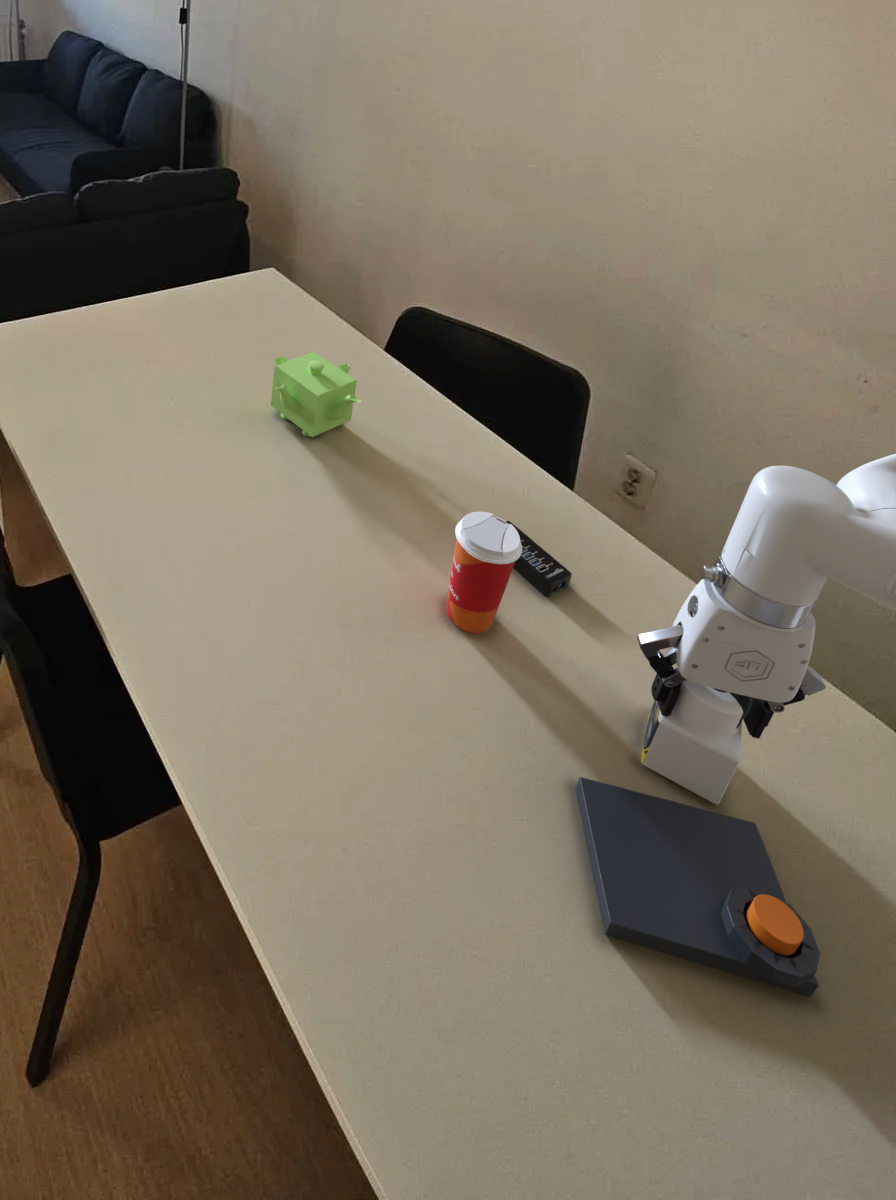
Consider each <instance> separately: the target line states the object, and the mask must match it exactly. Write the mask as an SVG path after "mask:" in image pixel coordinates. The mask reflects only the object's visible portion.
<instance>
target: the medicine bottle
mask: <svg viewBox="0 0 896 1200" xmlns="http://www.w3.org/2000/svg"><path fill="white" fill-rule="evenodd" d="M678 686H679V689H680V694H679V697H678V699H677V701H676V704H675V706H674V708H673V711H672V713H671V715H669V716H664V715H662V714H661V712H660V708H659V705H658V702H657V701H656V700H654V701H653V704H652V705H651V708H650V711H649V713H648V717H647V723H646V729H645V735H644V741H643V746H642V751H641V752H642V753H641V759H640V763H641V765H643V766H644V767H646V768H648V769H650V770H652V771H653V772H655V773H657V774H659V775H660V776H663V777H665V778H667V779H668V780H669V781H672V782H673V783H675V784H677V785H679V786H681V787H683V788H685V789H686V790H688V791H690V792H692V793H693V794H695V795H697V796H699V797H701V798H703V799H704V800H706V801H708V802H710V803H712V804H714V805H717V806H718V805H719V804H720V802H721V801H722V799H723V797H724V796H725V795H724V794H725V793H726V791H727V789H728V786H729V785H730V783H731V782H732V779H733V777H734V775H735V774H736V773H735V772H736V771H737V769H738V766H739V765H740V763H741V752H742V751H741V750H742V735H743V733H742V732H743V731H742V730H743V721H744V720H743V718H744V716H745V714H746V712H747V710H748V707H749V697H748V696H744V695H740V694H735V693H731V692H727V691H723V690H719V689H715V688H710V687H706V686H703V685H699V684H696V683H693V682H691V681H689V680H686V681H684V682H682V683H680V684H679V685H678Z"/></svg>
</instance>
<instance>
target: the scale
mask: <svg viewBox="0 0 896 1200" xmlns="http://www.w3.org/2000/svg"><path fill="white" fill-rule="evenodd" d="M575 793H576V799H577V804H578V809H579V814H580V818H581V823H582V828H583V832H584V837H585V842H586V846H587V847H586V848H587V853H588V858H589V863H590V869H591V873H592V876H593V882H594V887H595V892H596V897H597V903H598V907H599V912H600V917H601V922H602V927H603V932H604V935H605V936H607V937H611V938H613V939H618V940H621V941H624V942H627V943H631V944H634V945H637V946H640V947H644V948H647V949H650V950H654V951H657V952H661V953H664V954H668V955H669V956H670V955H671V956H674V957H676V958H681V959H684V960H686V961H691V962H693V963H696V964H700V965H703V966H707V967H711V968H713V969H717V970H720V971H723V972H727V973H729V974H733V975H736V976H740V977H743V978H747V979H750V980H753V981H757V982H760V983H762V984H766V985H769V986H773V987H776V988H779V989H783V990H786V991H790V992H792V993H796V994H798V995H799V994H800V995H803V996H806V997H809V998H810V997H812V996H813V995H814V993H815V992H816V991H817V989H818V987H820V984H819V982H818V979H817V976H816V973H817V972H818V968H819V962H820V958H821V951H820V948H819V945H818V942H817V941H816V938H815V936H814V933H813V931H812V929H811V927H810V926H809V925H808V924H807V922H806V921H805V920H804V919H803V917H802V916H801V915H800V914H799V913H798V911H796V909H795V908H794V906H793V905H791V904H790V903H789V902H788V901H787V900H786V897H785V895H784V892H783V890H782V888H781V885H780V882H779V880H778V877H777V874H776V871H775V870H774V866H773V864H772V861H771V859H770V856H769V854H768V852H767V849H766V847H765V843H764V841H763V839H762V836H761V834H760V831H759V828H758V825H757V823H756V822H753V821H749V820H745V819H741V818H737V817H734V816H730V815H726V814H723V813H719V812H715V811H711V810H707V809H704V808H700V807H696V806H692V805H689V804H685V803H682V802H677V801H674V800H669V799H665V798H662V797H658V796H654V795H650V794H647V793H643V792H640V791H636V790H632V789H628V788H624V787H619V786H616V785H613V784H608V783H605V782H601V781H597V780H593V779H591V778H586V777H582V776H580V777H579V778H578V781H577V783H576V785H575ZM762 894H764V895H770V896H773V897H775V898H777V899H779V900H780V901H782V902H783V903H784V904H786V905H787V906H788V907H789V908H790V909H791V910H792V911H793V912H794V913H795V915H796V916H797V917H798V919H799V921H800V923H801V925H802V927H803V931H804V938H803V940H802V942H801V944H800V945H799V947H798V948H797V950H796V951H795V953H794V954H792V955H788V956H785V955H780V954H777V953H775V952H773V951H771V950H770V949H768V948H767V947H765V946H764V945H763V944H762V943H761V942H760V941H759V940H758V939H757V938H756V937H755V935H754V934H753V932H752V931H751V929H750V927H749V925H748V922H747V910H748V909H749V907H750V905H751V903H752V902H753V900H754V898H755V897H756V896H758V895H762Z"/></svg>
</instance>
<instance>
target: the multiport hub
mask: <svg viewBox="0 0 896 1200" xmlns="http://www.w3.org/2000/svg"><path fill="white" fill-rule="evenodd" d="M505 521H506V523H508V524H509V525H510V524H512V525H513V526H514V528H515V529H516V530H517V532H518V534H519V536H520V542H521V545H522V553H521V556H520V557H519V558H518V559H517V560H516V561H515V564H514V567H513V569H514V570H515V571H516V572H517V573H518V574H519V575H520V576H521V577H522V578H523V579H525V580H526V581H527V582H528V583H529V584H530V585H531V586H533V588H535V589H536V590H537V591H538V592H539V593H541V595H542V596H544V597H546V598H550V597H551V596H554V595H556V594H559V593H560V592H562V591H564V590H566V589H568V588H569V585H570V583H571V579H572V576H573V574H572V572H571V571H570V570H569V569H567V567H565V566H564V565H562V564H561V562H559V561H558V560H557V559H555V558H554V557H553V556H552V555H551V554H550V553H549V552H547V551H546V550H545V549H544V548H542V547H541V546H540V545H539V544H538V543H536V542H535V541H534V540H533V539H532V538H530V537H529V536H528V535H527V534H526V533H525V532H523V531H522V530H521V529H520V528H519V527H517V525H515V524H514V523H513V522H511V521H510V520H505Z"/></svg>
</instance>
